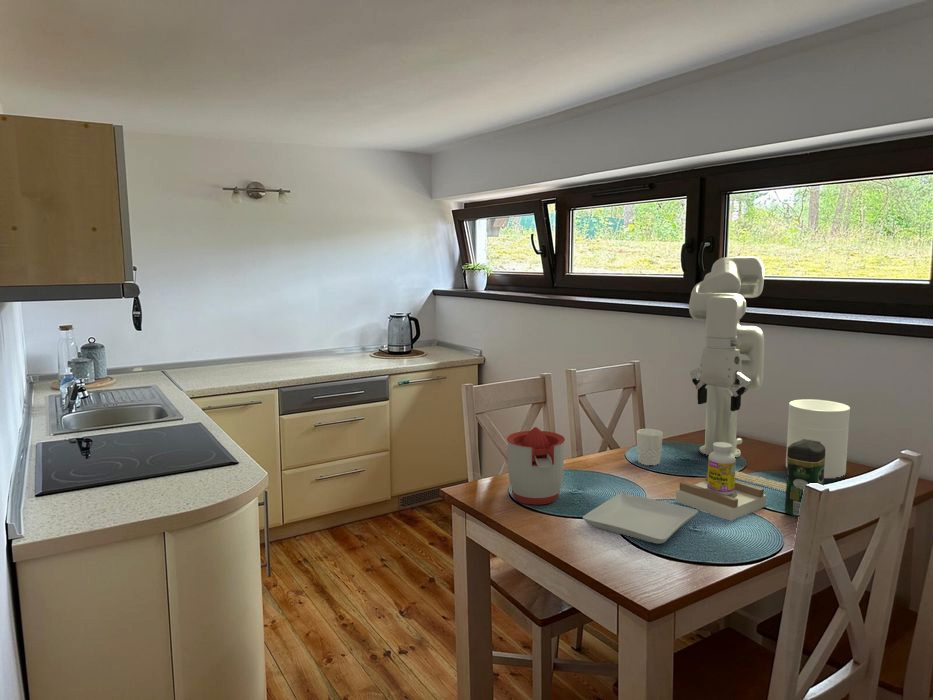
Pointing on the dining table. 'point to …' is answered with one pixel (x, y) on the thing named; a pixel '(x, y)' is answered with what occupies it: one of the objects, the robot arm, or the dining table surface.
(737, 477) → the wooden plank
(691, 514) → the salad plate
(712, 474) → the supplement bottle
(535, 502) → the citrus juicer
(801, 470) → the coffee jar
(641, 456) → the white cup
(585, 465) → the dining table surface
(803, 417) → the canister
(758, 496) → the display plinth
